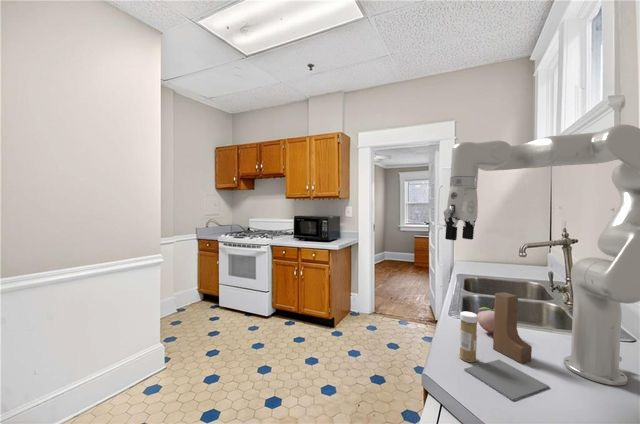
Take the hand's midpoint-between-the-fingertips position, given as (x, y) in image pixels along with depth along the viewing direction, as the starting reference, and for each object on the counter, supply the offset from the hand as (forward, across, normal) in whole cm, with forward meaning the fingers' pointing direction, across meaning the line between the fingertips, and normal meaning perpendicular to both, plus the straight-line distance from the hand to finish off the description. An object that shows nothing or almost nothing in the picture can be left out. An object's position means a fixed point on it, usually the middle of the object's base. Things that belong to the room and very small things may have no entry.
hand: (459, 239), depth 86 cm
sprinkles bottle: (+35, 0, -5) cm, 35 cm away
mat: (+35, -2, -16) cm, 38 cm away
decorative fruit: (+35, +24, -1) cm, 42 cm away
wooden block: (+35, +14, -11) cm, 39 cm away
